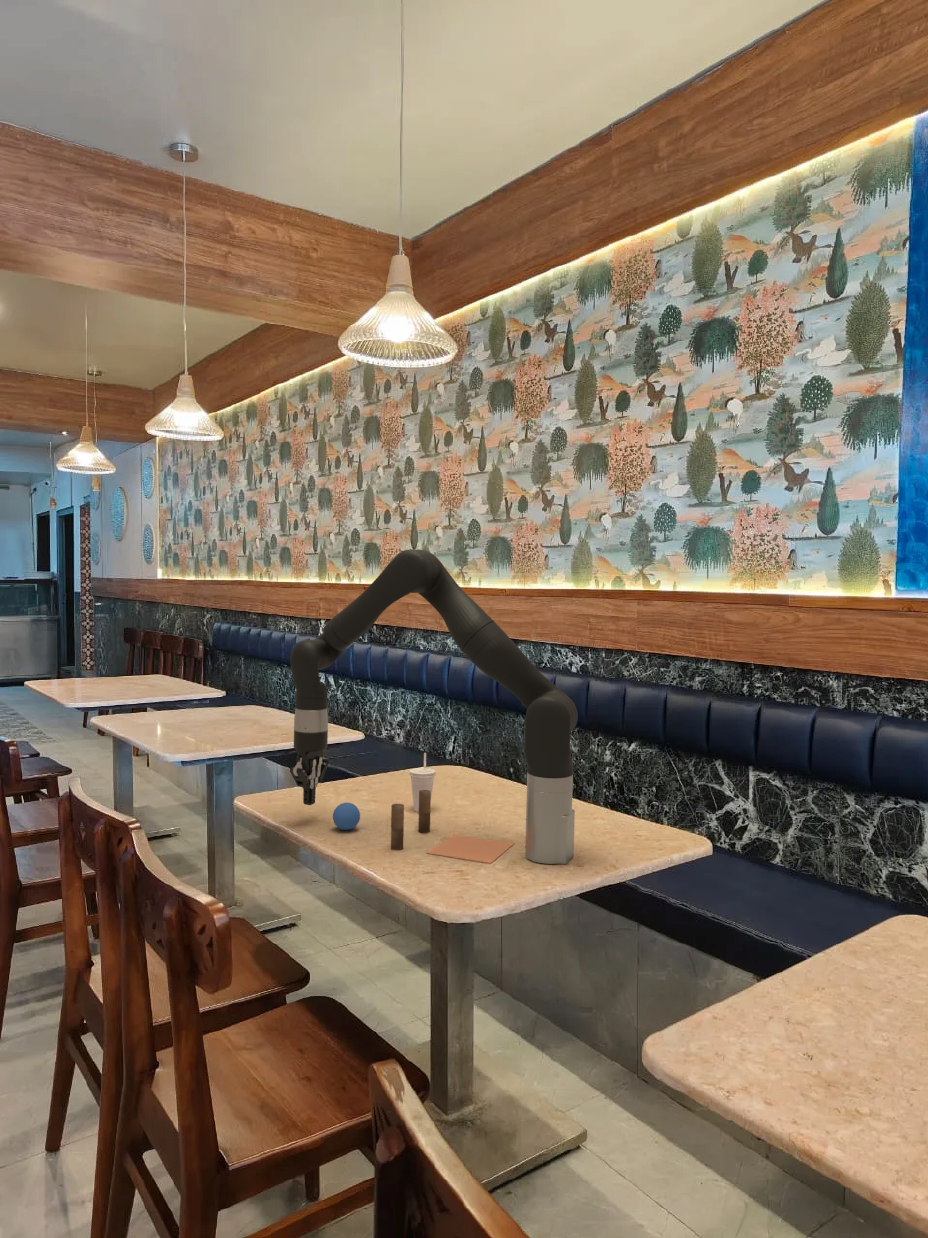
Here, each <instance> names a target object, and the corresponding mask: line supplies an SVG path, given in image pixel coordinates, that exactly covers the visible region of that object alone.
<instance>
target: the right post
mask: <svg viewBox="0 0 928 1238" xmlns="http://www.w3.org/2000/svg"><path fill="white" fill-rule="evenodd" d="M431 802H432V796H431V791H429V790H420V791H419V812H418V820H417V821H418V824H417V825H418V830H417V831H418V833H420V834H429V833H430V832H431Z"/></svg>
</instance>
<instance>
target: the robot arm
mask: <svg viewBox="0 0 928 1238" xmlns="http://www.w3.org/2000/svg"><path fill="white" fill-rule="evenodd" d="M416 593H417V594H418V595H420V596H421V597H422V598H424V600H426V601H427V602H428V603H429V604H430V605H431V606H432V607H433V608H434V609H435V610H436V612H437V613H438V614H439V615H440V616H441V619H442V620H443V622H444V624H445V625H446V627H447V629H448V631H449V633H450V636H451V637H452V639H453V641H454V643H455V644H456V646H457V647H458V648H459V649H460V651H461V652H462V653H463V654H464V655H465V657H466V658H467V659H469V660H470V662H472V663H473V665H474V666H475V667H476V668H478V669H479V670H480V671H481V672H483V673H484V674H485V675H487V676H488V677H489V678H491V679H493V680H494V682H495V681H496V682H497V683H499V684H500V685H501V686H503V687H504V688H506V690H507V689H508V690H509V691H510V692H511V693H512V694H513V695H514V696H515V697H516V698H517V699H518V700H519V701H520V702H521V703H522V705H523V706H524V707H525V708H526V712H525V713H526V714H525V718H524V757H525V761H526V767H527V769H526V770H527V771H526V803H525V804H526V805H525V806H526V809H525V812H526V813H525V814H526V815H525V845H524V849H525V851H524V852H525V853H524V855H525V858H526V859H527V860H530V862H535V863H539V864H545V865H546V864H548V865H549V864H550V865H551V864H552V865H554V864H555V865H558V864H559V865H561V864H562V865H566V864H567V863H568V862H570V860H571V859H572V858H573V857H574V852H575V851H574V849H575V847H574V846H575V818H576V817H575V816H576V815H575V814H576V812H575V809H573V785H574V783H573V782H574V761H573V759H572V757H571V732H573V730H574V729H575V727H576V726H577V724H578V723H577V722H578V719H579V718H578V716H579V715H578V710H577V707H576V704H575V702H574V701H573V700H572V699H571V698H570V697H569V696H568V695H567V694H566V693H565V692H563V690H561V689H560V688H559V687H558V686H557V685H556V684H554V683H553V682H552V681H551V680H549V679H548V678H547V677H546V676H545V675H544V674H543V673H541V671H539V669H538V668H536V666H535V665H534V664H533V663H532V662H531V660H530V659H529V658H528V657H527V656H526V655H525V653H524V652H523V651H522V650H521V649H520V648H519V647H518V645H516V643H515V642H514V641H513V640H512V639H511V638H510V636H509V635H508V634H507V633H506V632H505V631H504V630H503V629H502V628H501V626H499V624H498V623H497V622H495V620H494V619H493V618H492V617H490V615H488V614H487V612H486V611H484V609H482V608H481V606H479V604H478V603H476V601H474V600H473V599H472V598H471V597H470V596H469V595H468V594H467V593H466V592H465V591H464V590H463V589H462V588H461V587H460V585H459V584H458V583H457V581H456V580H455V579H454V577H452V575H451V574H450V572H449V571H448V570H447V568H446V567H445V565H444V564H443V563H442V562H441V561H440V559H438V557H437V556H436V555H435V554H433V553H432V552H430V551H427V550H425V549H424V550H423V549H416V548H415V549H414V548H413V549H411V548H410V549H405V550H402V551H401V552H399V553H398V554H396V555H395V556H394V557H393V558H392V559H391V561H390V562H389V563H388V564H387V565H386V566H385V567H384V569H383V570H382V571H381V572H380V573H379V575H378V576H377V577H376V579H374V581H373V582H372V583H370V585H369V586H368V587H367V588H366V589H365V590H364V591H363V592H362V593H360V595H358V597H356V598H355V599H354V600H353V601H352V602H351V603H349V604H348V605H347V606H346V607H345V608H343V609H342V610H340V611H339V612H338V613H337V614H336V615H334V617H332V618H331V619H330V620H328V622H327V623H326V624H324V627H323V629H322V633H321V634H320V635H319V636H318V637H316V638H314V639H307V640H306V639H305V640H301V641H298V642H297V643H296V644H295V645H294V646H293V648H292V650H291V652H290V657H289V659H290V660H289V661H290V662H289V663H290V669H291V674H292V678H293V683H294V686H295V711H294V718H293V720H294V721H293V749H294V750H296V751H297V756H296V765H295V766H294V767H292V766H291V767H290V768H289V772H290V774H291V776H292V778H293V780H294V782H295V784H296V785H297V787H298V788H302V790H303V793H302V795H303V796H302V797H303V798H302V800H303V805H307V806H312V805H314V804H315V803H316V796H317V795H316V788H317V787H318V784H321V783H322V782H323V780H324V776H325V774H326V771H327V768H328V766H329V764H330V759H329V758H325V757H324V755H325V754H324V750H327V748H328V738H329V737H328V736H329V734H328V733H329V732H328V731H329V714H328V687H327V685H326V683H324V682H322V681H320V675H319V671H321V670H325V669H327V668H328V667H330V666H331V665H333V664H334V663H335V662H336V661H337V660H338V658H340V656H342V654H343V653H344V652H345V650H346V649H347V648H348V647H350V645H353V643H354V642H356V641H357V640H358V639H359V638H361V637H362V636H363V635H364V634H365V633H366V632H368V631H369V630H370V629H371V628H372V626H374V624H375V623H376V622H377V621H378V619H379V617H380V616H381V615H382V614H383V612H384V611H385V610H386V609H388V608H389V607H390V606H391V605H393V604H394V603H395V602H397V601H398V600H400V599H402V598H404V597H405V596H407V595H409V594H416Z"/></svg>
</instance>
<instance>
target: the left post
mask: <svg viewBox="0 0 928 1238" xmlns="http://www.w3.org/2000/svg"><path fill="white" fill-rule="evenodd" d="M390 807H391V809H390V813H391V815H390V817H391V818H390V820H391V821H390V849H391V850H392V851H401V850H404V826H405V823H404V822H405V821H404V820H405V804H402V803H392V804H391V806H390Z"/></svg>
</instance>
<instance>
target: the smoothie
mask: <svg viewBox="0 0 928 1238" xmlns="http://www.w3.org/2000/svg"><path fill="white" fill-rule="evenodd" d="M435 776H436V770H435V769H433V768H429V767H428V768H427V753H426V752H424V753H423V767H417V768H411V769H410V770H409V777H410V784H411V791H412V792H411V794H412V801H413V802H412V803H413V811H414V812H416V813H419V791H420V790H429V791H431V797H432V794H433V790H434V789H433V788H434V787H433V786H434V781H435Z"/></svg>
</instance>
